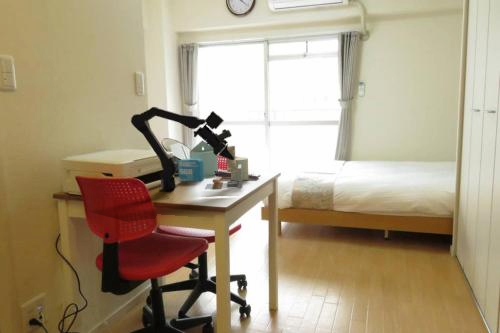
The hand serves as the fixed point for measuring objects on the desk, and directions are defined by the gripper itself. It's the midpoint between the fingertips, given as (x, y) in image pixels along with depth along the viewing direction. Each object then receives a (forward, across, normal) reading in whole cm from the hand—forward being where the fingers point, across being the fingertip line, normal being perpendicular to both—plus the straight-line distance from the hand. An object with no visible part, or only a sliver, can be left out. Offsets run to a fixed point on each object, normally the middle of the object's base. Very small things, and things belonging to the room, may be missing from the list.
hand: (234, 159), depth 181 cm
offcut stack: (+3, 0, +15) cm, 15 cm away
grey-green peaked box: (-4, +35, +24) cm, 42 cm away
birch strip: (+3, 0, +5) cm, 6 cm away
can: (+11, +15, +8) cm, 21 cm away
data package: (-7, +17, +26) cm, 32 cm away
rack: (+6, 0, +13) cm, 14 cm away
